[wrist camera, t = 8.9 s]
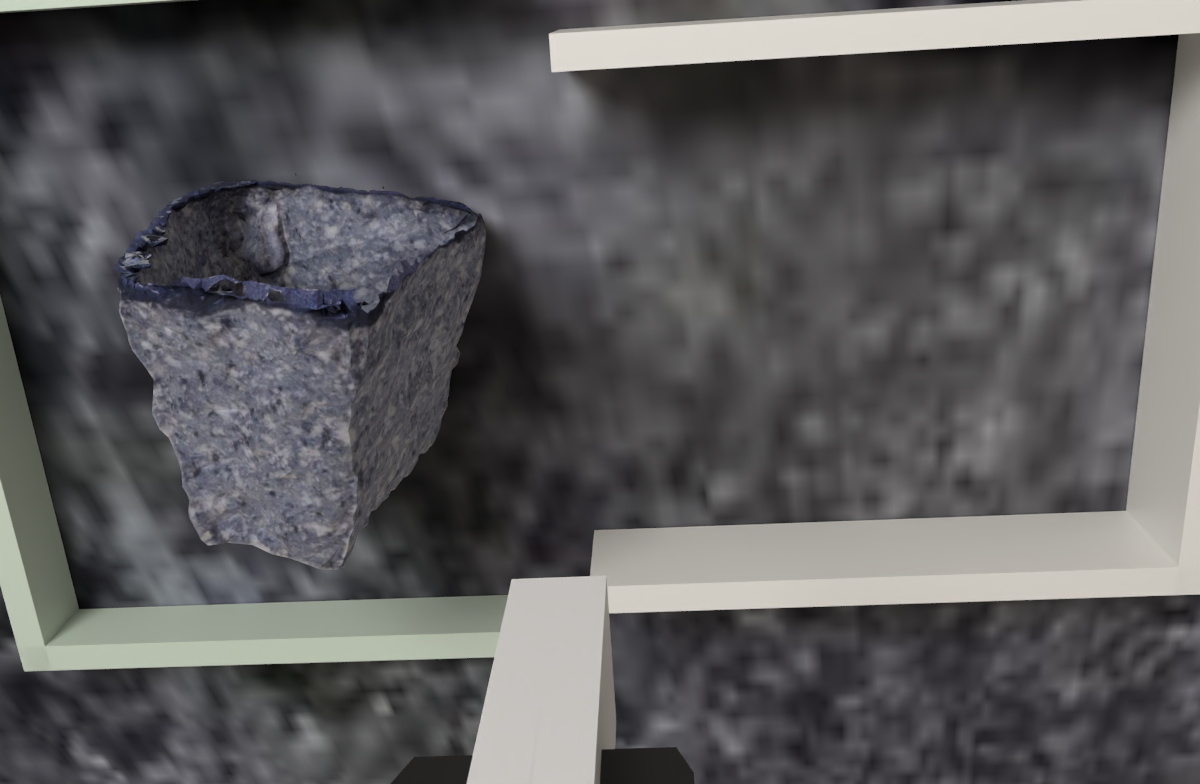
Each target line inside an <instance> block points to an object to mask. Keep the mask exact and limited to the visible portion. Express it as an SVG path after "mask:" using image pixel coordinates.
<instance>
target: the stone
mask: <svg viewBox="0 0 1200 784" xmlns="http://www.w3.org/2000/svg"><path fill="white" fill-rule="evenodd" d="M295 175H296V174H295ZM383 188H384V187H383ZM272 197H274V199H272ZM239 217H241V218H242V219H243V220H244V221H245V222H246V223H245V222H244V221H243V220H241V219H240V218H239ZM247 223H248V224H247ZM485 244H486V230H485V224H484V220H483V218H482V216H481V214H476V213H475V212H473V211H471V209H470V208H468V207H467V206H466V205H464V204H462V203H460V202H453V201H446V200H437V199H435V198H433V197H432V198H428V197H416V198H413V199H412V198H409V197H407V196H405V195H403V194H401V193H398V192H394V191H375V190H371V191H369V192H367V191H364V190H359V191H358V190H354V189H349V188H342V187H340V188H331V187H328V186H317V185H310V184H302V185H293V184H289V183H280V184H278V183H276V182H273V181H266V182H259V181H256V180H248V181H234V182H218V183H214V184H211V185H210V186H206V187H204V186H203V187H202V188H201V189H199V190H195V191H193V192H190V193H188V194H186V195H184V196H182V197H181V198H177V199H175V200H172V201H171V202H169V205H167V207H166V208H162V211H159V214H158V217H157V218H155V219H153V222H152V223H150V226H149V227H148V229H147V230H144V231H139V232H138V233H136V237H135V239H134V240H133V241H132V242H131V244H130V246H129V247H128V249H127V251H126V252H125V254H124V256H123V257H121V258H119V261H118V263H117V264H116V266H115V267H114V269H116V270H117V271H118V272H120V273H121V276H120V278H119V280H118V288H117V290H118V291H119V292H120V293H121V297H120V305H119V313H120V315H121V318H122V321H123V323H124V326H125V329H126V331H127V334H128V339H129V344H130V346H131V348H132V350H133V352H134V353H135V354H136V356H137V357H138V358H139V360H140V361H141V362H142V363H143V365H144V366H145V367H146V369H147V370H148V372H149V373H150V375H151V376H152V378H153V379H154V390H153V407H152V414H153V416H154V418H155V420H156V422H157V425H158V427H159V429H160V430H161V431H162V432H163V433H164V434H165V435H166V436H167V437H168V438H169V439H170V442H171V444H172V446H173V449H174V451H175V454H176V456H177V459H178V462H179V465H180V468H181V471H182V487H183V488H184V490H185V492H186V493H187V495H188V498H189V500H190V501H189V511H188V512H189V518H190V520H191V522H192V524H193V525H194V527H195V529H196V531H197V533H198V535H199V536H200V538H201V540H202V541H203V542H205V543H206V544H207V545H215V544H223V543H238V544H249V545H254V546H256V547H258V548H260V549H262V550H264V551H267V552H269V553H271V554H273V555H278V556H283V557H288V558H291V559H293V560H296V561H299V562H302V563H305V564H307V565H310V566H313V567H315V568H318V569H328V570H338V569H341V568H343V567H345V564H346V562H347V560H348V558H349V556H350V554H351V552H352V549H353V546H354V543H355V541H356V537H357V533H358V531H359V530H361V529H362V528H364V527H365V526H366V525H368V522H369V517H370V513H371V511H373V510H376V509H377V508H378V507H379V505H380V504H381V503H382V502H383V501H384V500H385V499H387V498H388V497H389V494H390V492H391V491H392V490H395V488H396V487H397V486H398V484H399V483H400V481H401V480H402V478H404V477H407V476H408V475H409V474H410V473H411V471H412V470H413V468H414V466H415V464H416V463H417V461H418V457H419V455H420V454H422V453H426V451H427V450H428V449H429V447H431V446H432V444H433V443H434V442H435V439H436V437H437V434H438V432H439V430H440V426H441V420H442V416H443V414H444V412H445V410H446V408H447V406H448V396H449V387H450V377H451V372H452V369H453V368H454V367H455V366H456V365H457V364H458V361H459V357H460V351H459V349H458V348H457V343H458V341H459V339H460V337H461V335H462V332H463V327H464V323H465V320H466V317H467V314H468V312H469V309H470V306H471V304H472V301H473V298H474V296H475V293H476V290H477V287H478V284H479V281H480V278H481V272H482V265H483V258H484V251H485ZM251 277H252V280H251ZM375 529H376V528H375Z"/></svg>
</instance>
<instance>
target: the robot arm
mask: <svg viewBox="0 0 1200 784" xmlns="http://www.w3.org/2000/svg"><path fill="white" fill-rule="evenodd" d="M615 739H616V712H615V697H614V682H613V667H612V651H611V636H610V621H609V606H608V591H607V576H584V577H557V578H529V579H512V580H511V585H510V589H509V594H508V598H507V603H506V607H505V612H504V616H503V621H502V625H501V630H500V634H499V639H498V643H497V648H496V652H495V657H494V662H493V666H492V671H491V675H490V680H489V684H488V689H487V693H486V698H485V702H484V707H483V711H482V716H481V720H480V725H479V729H478V734H477V738H476V743H475V748H474V752H473V755H472V756H436V757H414V758H413V759H412V760H411V761H410V762H409V764H408V765H407V766H406V767H405V768H404V769H403V770H402V771H401V773H400V774H399V775H398V776H397V777H396V778H395V779H394V780H393V782H392V783H391V784H694V773H693V771H692V770H691V768H690V767H689V765H688V764H687V762H686V761H685V760H684V758H683V757H682V755H681V754H680V752H679V751H678V749H677V748H676V747H670V748H634V749H615Z"/></svg>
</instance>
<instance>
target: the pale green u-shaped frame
mask: <svg viewBox="0 0 1200 784" xmlns="http://www.w3.org/2000/svg"><path fill="white" fill-rule="evenodd" d="M181 1H197V0H0V13H13V12H29V11H44V10H59V9H74V8H90V7H105V6H120V5H136V4H151V3H166V2H181ZM0 586H1V589H2V593H3V597H4V600H5V604H6V608H7V611H8V615H9V618H10V622H11V626H12V629H13V633H14V636H15V640H16V644H17V647H18V651H19V655H20V658H21V662H22V665H23V669H24V671H52V670H85V669H118V668H152V667H185V666H218V665H251V664H285V663H318V662H351V661H384V660H418V659H451V658H484V657H495V652H496V648H497V643H498V639H499V634H500V630H501V625H502V621H503V616H504V612H505V607H506V603H507V598H508V595H490V596H460V597H430V598H400V599H370V600H340V601H310V602H280V603H250V604H220V605H190V606H160V607H130V608H100V609H79V607H78V603H77V599H76V595H75V591H74V587H73V583H72V579H71V575H70V571H69V567H68V563H67V559H66V555H65V551H64V547H63V543H62V539H61V535H60V531H59V527H58V523H57V519H56V515H55V511H54V507H53V503H52V499H51V495H50V491H49V487H48V483H47V479H46V475H45V471H44V467H43V463H42V459H41V455H40V452H39V448H38V444H37V440H36V436H35V432H34V428H33V424H32V420H31V416H30V412H29V408H28V404H27V400H26V396H25V392H24V388H23V384H22V380H21V376H20V372H19V368H18V364H17V360H16V356H15V352H14V348H13V344H12V340H11V336H10V332H9V328H8V324H7V320H6V316H5V312H4V308H3V304H2V300H1V296H0Z"/></svg>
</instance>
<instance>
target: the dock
mask: <svg viewBox="0 0 1200 784" xmlns="http://www.w3.org/2000/svg"><path fill="white" fill-rule="evenodd" d="M1174 34H1179V37H1178V46H1177V55H1176V64H1175V73H1174V82H1173V91H1172V100H1171V109H1170V118H1169V127H1168V136H1167V145H1166V154H1165V163H1164V172H1163V181H1162V190H1161V199H1160V208H1159V217H1158V226H1157V235H1156V244H1155V253H1154V262H1153V271H1152V280H1151V289H1150V298H1149V307H1148V316H1147V325H1146V334H1145V343H1144V352H1143V361H1142V370H1141V379H1140V388H1139V397H1138V406H1137V415H1136V424H1135V433H1134V442H1133V451H1132V460H1131V469H1130V479H1129V488H1128V497H1127V506H1126V511H1108V512H1081V513H1053V514H1026V515H999V516H971V517H944V518H916V519H889V520H862V521H834V522H807V523H780V524H752V525H725V526H697V527H670V528H643V529H615V530H594V539H593V549H592V560H591V570H590V576H607V591H608V606H609V613H637V612H668V611H699V610H730V609H761V608H792V607H823V606H854V605H885V604H916V603H947V602H978V601H1010V600H1041V599H1072V598H1103V597H1134V596H1165V595H1196V594H1200V0H1022V1H1006V2H990V3H974V4H958V5H942V6H926V7H910V8H894V9H878V10H863V11H847V12H831V13H815V14H799V15H783V16H767V17H751V18H735V19H719V20H703V21H687V22H671V23H655V24H639V25H623V26H607V27H591V28H575V29H560V30H557V31H555V32H552V33H550V34H549V43H550V56H551V70H552V72H563V71H579V70H596V69H612V68H629V67H645V66H662V65H678V64H695V63H712V62H728V61H745V60H761V59H778V58H794V57H811V56H827V55H844V54H860V53H877V52H893V51H910V50H926V49H943V48H960V47H976V46H993V45H1009V44H1026V43H1042V42H1059V41H1075V40H1092V39H1108V38H1125V37H1141V36H1158V35H1174Z"/></svg>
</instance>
